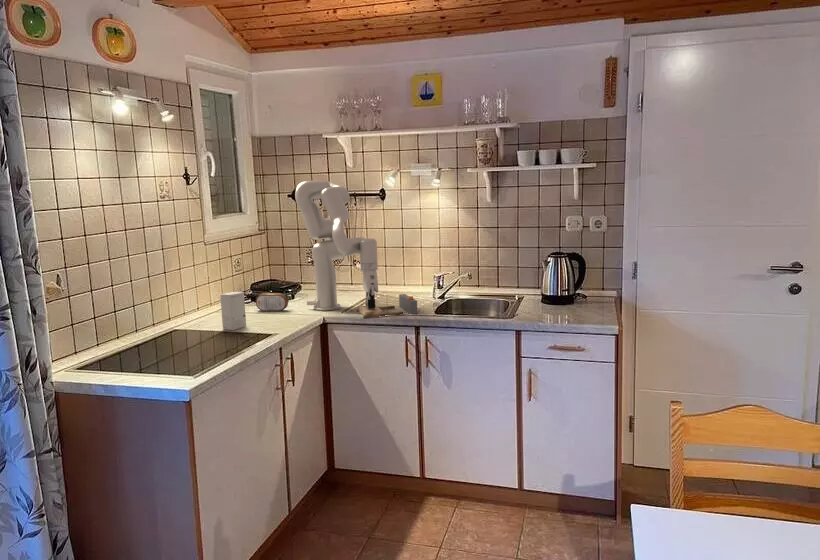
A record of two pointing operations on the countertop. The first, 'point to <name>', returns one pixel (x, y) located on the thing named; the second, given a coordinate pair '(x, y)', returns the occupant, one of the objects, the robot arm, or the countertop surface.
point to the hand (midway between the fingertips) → (370, 306)
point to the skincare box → (233, 310)
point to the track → (383, 313)
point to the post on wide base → (369, 311)
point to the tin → (271, 302)
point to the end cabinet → (407, 304)
